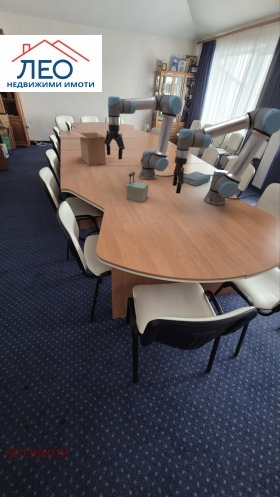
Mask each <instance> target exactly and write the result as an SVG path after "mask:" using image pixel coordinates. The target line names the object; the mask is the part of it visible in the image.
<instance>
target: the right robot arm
mask: <svg viewBox="0 0 280 497" xmlns="http://www.w3.org/2000/svg"><path fill="white" fill-rule="evenodd" d="M242 130H245V131H248V130H251V134H250V136H249V138H248V140H246V143H245V144H244V145H243V147H242V149H241V151H239V152H240V153H239V154H238V155H237V157H236V159H235V160H234V162H233V164H232V166H231V167H230V168H229V170H222V169H217V170H214V171H213V174H212V175H213V176H212V178H211V180H210V181H211V182H210V186H209V189H208V191H207V193H206V195H205V196H204V202H206V203H207V204H210V205H214V206H223V205H225V204H226V199H227V200H243V199H247V198H249V197H255V198H258V196H257V195H256V194H251V195H246V196H243V197H234V196H235V195H236V194H238V192H239V185H240V184H241V182H242V179H241V177H242V176H243V174H244V173H245V172H246V170H247V169H248V168H249V166H250V164H251V162H252V161H253V159H254V158H255V156H256V155H257V154H258V152H259V150H260V149H261V147H262V146H263V144H264V143H265V141H267V140H270V138H271V137H272V135H273V134H276V133H278V132H279V131H280V109H278V108H275V107H273V108H272V107H268V106H263V107H259V108H257V109H254V110H249V111H248V112H245V113H244V114H243V115H241V116H238V117H235V118H232V119H228V120H225V121H221V122H219V123H215V124H212V125H209V126H206V127H203V128H200V129H190V128H181V129H179V131H178V136H177V144H176V150H175V158H174V163H175V166H174V170H173V174H172V175H174V176H173V179H172V187H176V190H175V193H176V194H181V192H182V187H183V186H182V185H183V184H184V182H183V175H184V174H185V167H184V166H185V165H187V163H188V157H189V152H190V148H195V149H196V148H197V149H198V148H199V149H208V148H210V146H211V144H212V139H214V138H215V139H216V138H219V137H222V136H225V135H229V134H232V133H235V132H238V131H242Z"/></svg>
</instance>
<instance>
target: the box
mask: <svg viewBox="0 0 280 497" xmlns="http://www.w3.org/2000/svg"><path fill="white" fill-rule="evenodd" d="M70 133H71V134H72V135H74V136H75V137H77V138H79V144H80V153H81V160H83V162H85V163H86V165H87V166H95V165H97V166H98V165H106V163H107V162H106V158H107V157H106V144H104V142H105V138H106V134H107V132H105V131H98V132H96V131H95V130H92V129H91V130H77V132H76V131H70Z"/></svg>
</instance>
